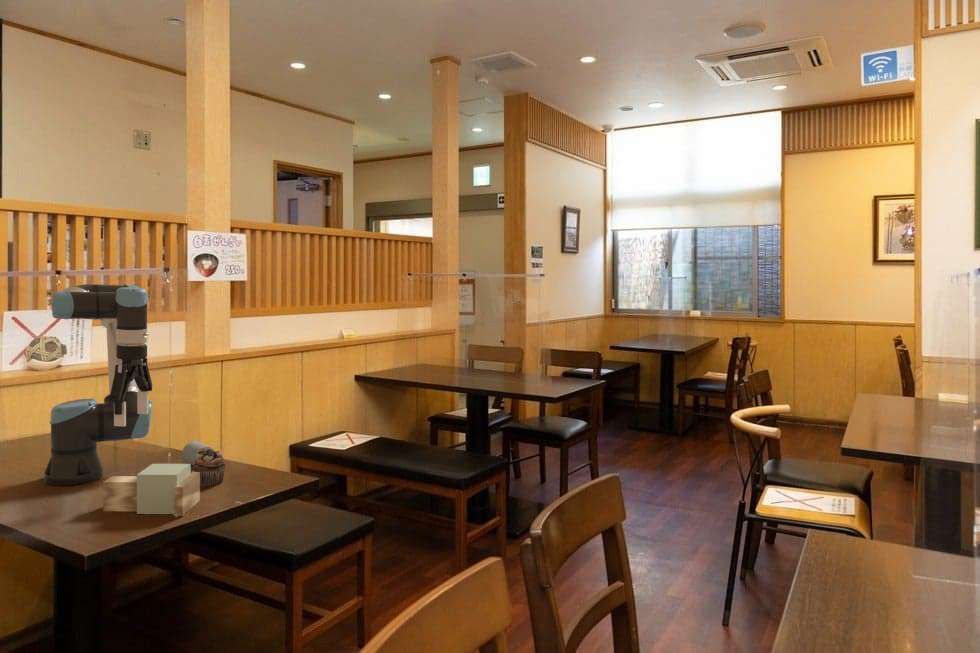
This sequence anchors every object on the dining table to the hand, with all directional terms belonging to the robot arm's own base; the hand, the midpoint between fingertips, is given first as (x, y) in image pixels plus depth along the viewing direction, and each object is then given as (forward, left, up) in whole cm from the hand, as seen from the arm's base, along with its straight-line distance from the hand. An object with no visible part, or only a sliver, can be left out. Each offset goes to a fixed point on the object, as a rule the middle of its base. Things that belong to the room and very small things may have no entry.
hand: (131, 419), depth 184 cm
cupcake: (+17, +13, -22) cm, 31 cm away
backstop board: (+18, -9, -22) cm, 30 cm away
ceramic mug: (+9, +31, -22) cm, 39 cm away
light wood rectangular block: (+6, -9, -22) cm, 25 cm away
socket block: (+12, -9, -22) cm, 27 cm away
